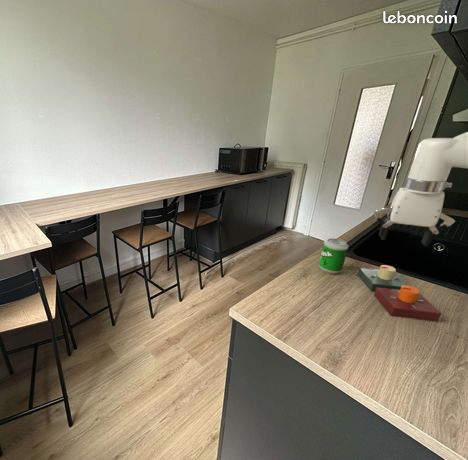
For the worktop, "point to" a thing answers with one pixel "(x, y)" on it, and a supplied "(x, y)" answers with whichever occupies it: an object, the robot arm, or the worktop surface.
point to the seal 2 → (408, 294)
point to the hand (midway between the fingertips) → (402, 241)
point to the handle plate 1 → (380, 280)
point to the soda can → (333, 255)
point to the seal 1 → (386, 272)
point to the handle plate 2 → (406, 306)
